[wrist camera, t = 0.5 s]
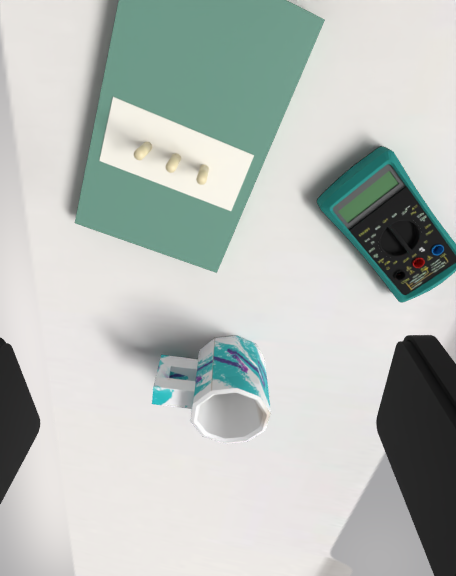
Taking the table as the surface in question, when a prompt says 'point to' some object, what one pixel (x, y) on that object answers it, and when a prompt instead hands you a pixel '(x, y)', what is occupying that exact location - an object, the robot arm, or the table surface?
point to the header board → (190, 119)
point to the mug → (218, 389)
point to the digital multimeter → (390, 225)
